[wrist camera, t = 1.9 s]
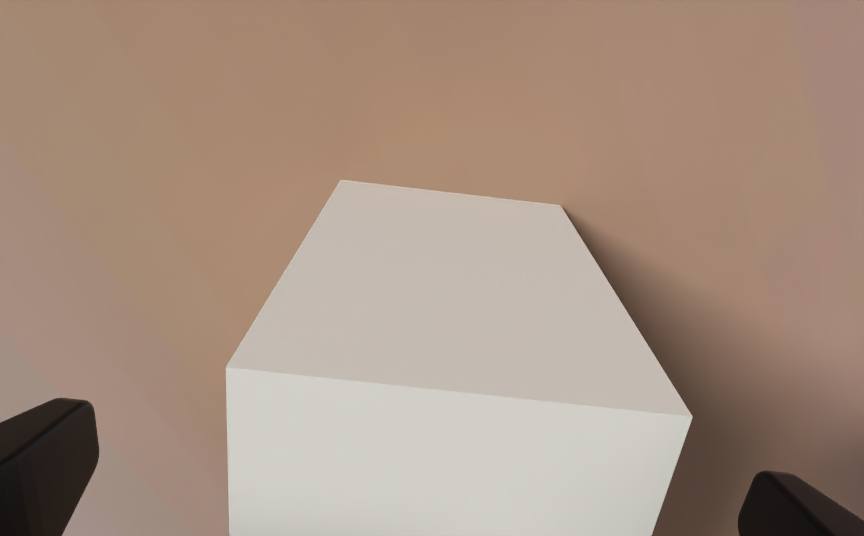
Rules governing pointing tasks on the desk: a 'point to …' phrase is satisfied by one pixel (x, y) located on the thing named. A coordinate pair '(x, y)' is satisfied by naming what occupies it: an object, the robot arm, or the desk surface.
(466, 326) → the small block
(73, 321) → the desk surface
